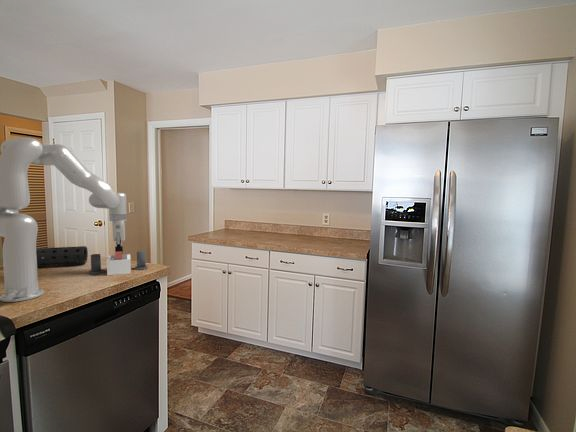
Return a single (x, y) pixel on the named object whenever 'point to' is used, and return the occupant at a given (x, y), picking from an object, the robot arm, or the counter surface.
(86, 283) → the counter surface
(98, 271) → the gray post with base
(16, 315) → the counter surface
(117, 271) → the switch box
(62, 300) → the counter surface
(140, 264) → the spool right
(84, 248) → the muzzle brake
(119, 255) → the slider
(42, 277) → the counter surface
